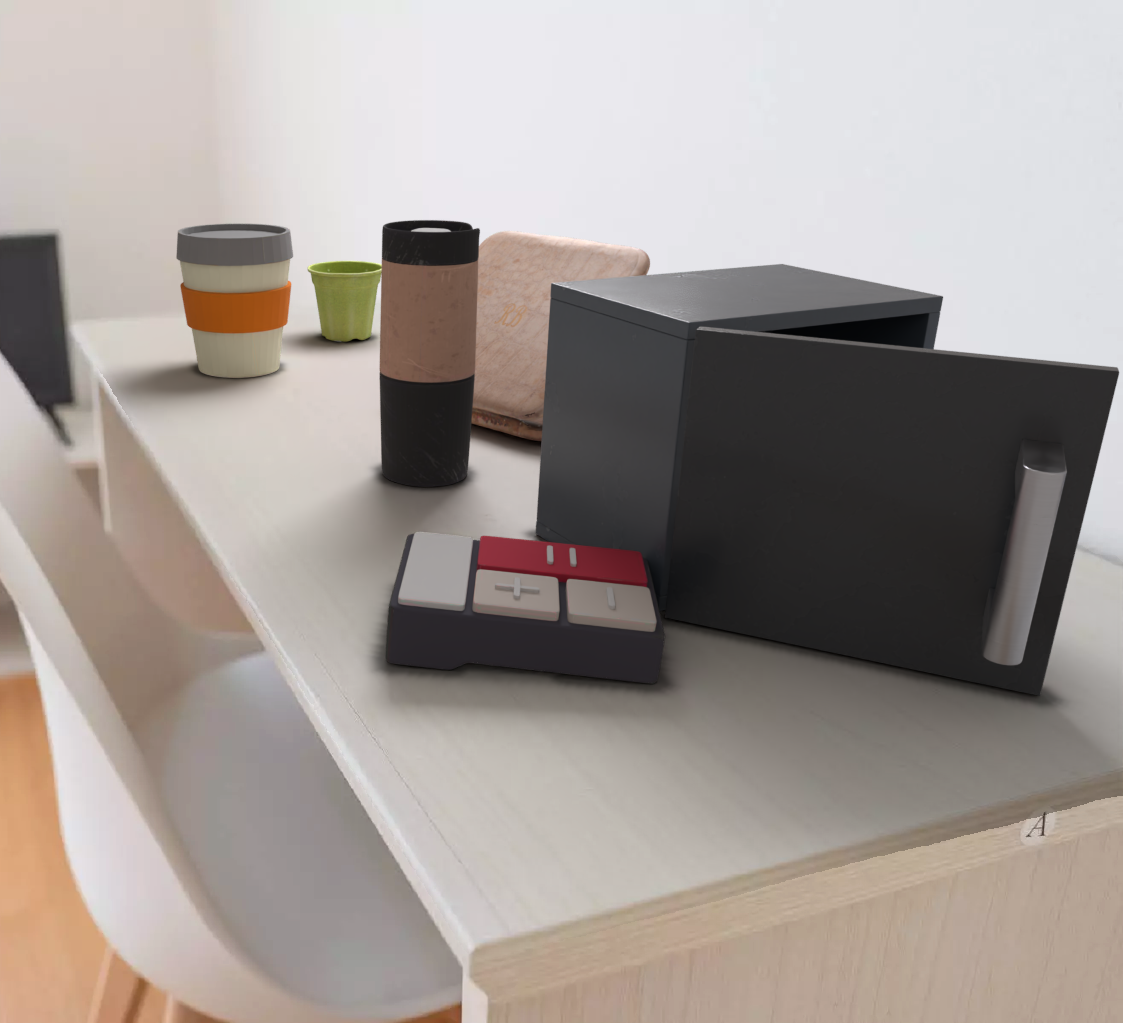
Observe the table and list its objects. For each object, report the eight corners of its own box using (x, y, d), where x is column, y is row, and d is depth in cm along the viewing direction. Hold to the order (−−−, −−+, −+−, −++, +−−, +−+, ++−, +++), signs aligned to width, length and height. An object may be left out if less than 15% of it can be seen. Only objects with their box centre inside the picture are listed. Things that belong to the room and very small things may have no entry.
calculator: (668, 625, 61) (388, 594, 63) (656, 695, 63) (383, 663, 65) (649, 545, 71) (408, 520, 73) (639, 608, 73) (403, 582, 75)
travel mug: (360, 476, 95) (361, 226, 87) (410, 452, 101) (415, 217, 93) (440, 494, 91) (448, 234, 83) (487, 469, 96) (498, 224, 89)
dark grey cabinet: (895, 559, 79) (943, 295, 72) (658, 611, 71) (689, 322, 65) (751, 494, 91) (782, 263, 84) (535, 533, 83) (550, 282, 77)
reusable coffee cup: (215, 350, 136) (209, 220, 131) (313, 360, 132) (311, 226, 127) (161, 375, 125) (152, 234, 120) (265, 386, 121) (261, 241, 116)
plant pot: (368, 347, 138) (368, 274, 135) (296, 341, 141) (295, 270, 138) (394, 332, 146) (395, 263, 143) (325, 326, 149) (325, 258, 146)
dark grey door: (1042, 745, 57) (1129, 398, 51) (640, 655, 66) (672, 348, 59) (1039, 688, 62) (1118, 367, 56) (668, 611, 71) (699, 325, 65)
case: (381, 404, 115) (383, 240, 109) (522, 370, 128) (531, 222, 122) (539, 453, 101) (550, 267, 95) (680, 409, 113) (698, 243, 108)
